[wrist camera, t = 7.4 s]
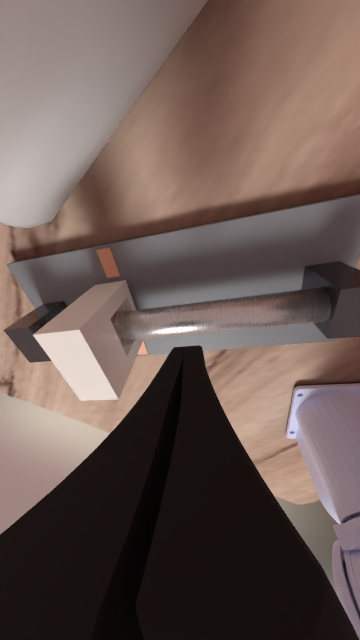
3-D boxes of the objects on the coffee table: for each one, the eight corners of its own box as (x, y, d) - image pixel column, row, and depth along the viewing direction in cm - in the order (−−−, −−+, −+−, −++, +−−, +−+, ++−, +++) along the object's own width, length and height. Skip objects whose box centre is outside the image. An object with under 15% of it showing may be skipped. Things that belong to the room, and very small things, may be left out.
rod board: (328, 334, 16) (369, 378, 12) (74, 355, 20) (44, 392, 16) (366, 192, 11) (459, 188, 7) (15, 261, 15) (-50, 283, 11)
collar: (145, 335, 16) (118, 399, 11) (118, 338, 17) (80, 400, 12) (125, 280, 14) (79, 329, 9) (94, 285, 14) (32, 334, 9)
